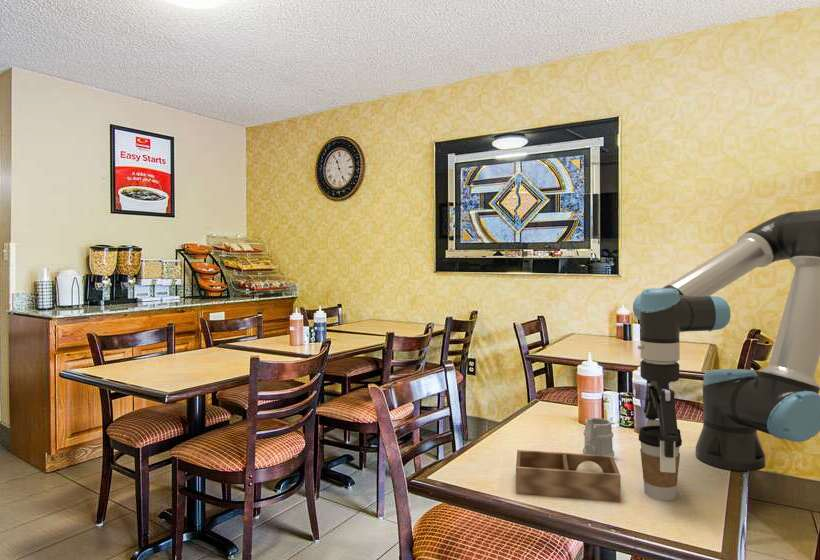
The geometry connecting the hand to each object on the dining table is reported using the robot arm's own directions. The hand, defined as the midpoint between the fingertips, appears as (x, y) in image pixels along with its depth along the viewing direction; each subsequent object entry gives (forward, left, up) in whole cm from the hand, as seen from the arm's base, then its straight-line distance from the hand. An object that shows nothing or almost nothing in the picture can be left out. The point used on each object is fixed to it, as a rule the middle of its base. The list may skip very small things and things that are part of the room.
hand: (659, 459), depth 112 cm
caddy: (+19, 0, -8) cm, 21 cm away
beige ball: (+14, 0, -8) cm, 16 cm away
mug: (+11, -19, -9) cm, 24 cm away
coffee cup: (0, 0, -9) cm, 9 cm away
